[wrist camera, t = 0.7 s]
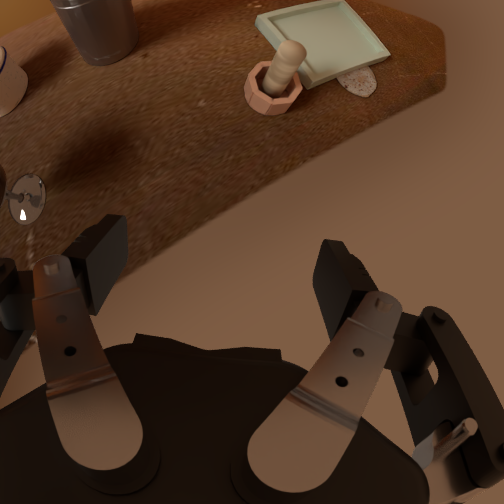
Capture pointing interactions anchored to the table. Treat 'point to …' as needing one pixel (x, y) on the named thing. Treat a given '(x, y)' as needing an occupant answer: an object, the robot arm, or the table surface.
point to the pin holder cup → (264, 102)
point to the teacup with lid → (10, 83)
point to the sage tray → (324, 38)
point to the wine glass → (23, 197)
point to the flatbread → (359, 81)
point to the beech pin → (283, 68)
